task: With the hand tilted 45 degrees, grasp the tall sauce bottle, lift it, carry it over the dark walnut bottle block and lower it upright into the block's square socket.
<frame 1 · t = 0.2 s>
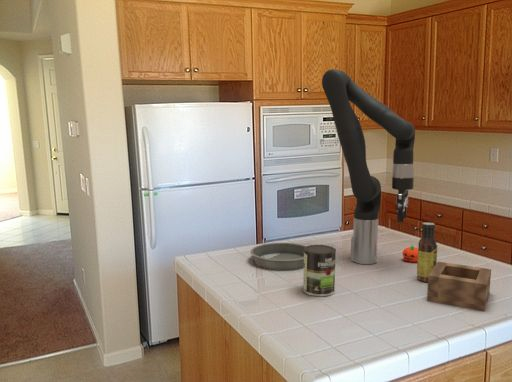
hand: (401, 219, 174), 18 cm above the counter, tool pointing down, fingers open, 8 cm apart
cake pan: (281, 262, 185), on the counter
bottle block: (458, 296, 148), on the counter
pumpkin: (412, 261, 185), on the counter
sauce bottle: (425, 280, 163), on the counter
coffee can: (318, 291, 153), on the counter
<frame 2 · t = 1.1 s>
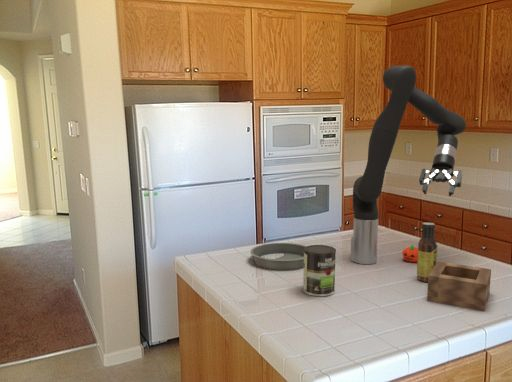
hand: (437, 193, 169), 28 cm above the counter, tool tilted 45°, fingers open, 8 cm apart
nothing on the counter moved.
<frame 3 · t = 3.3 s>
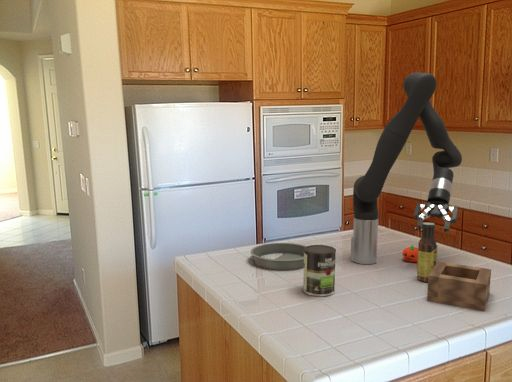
hand: (432, 229, 166), 16 cm above the counter, tool tilted 45°, fingers open, 8 cm apart
nothing on the counter moved.
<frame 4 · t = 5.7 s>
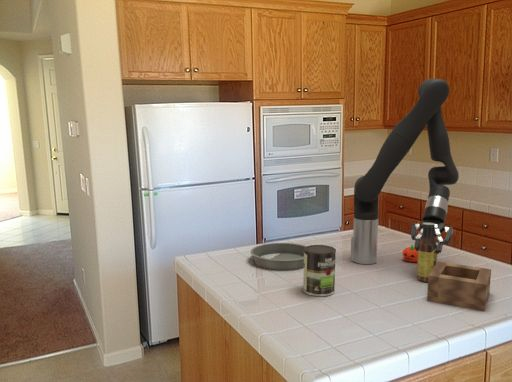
hand: (427, 251, 161), 10 cm above the counter, tool tilted 45°, fingers closed on sauce bottle, 6 cm apart
sauce bottle: (425, 280, 163), on the counter, touching gripper
everything else where it was.
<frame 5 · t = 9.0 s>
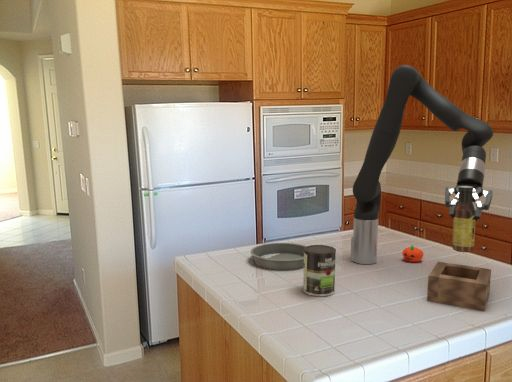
hand: (464, 217, 143), 25 cm above the counter, tool tilted 45°, fingers closed on sauce bottle, 6 cm apart
sauce bottle: (462, 250, 146), point 15 cm above the counter, touching gripper
everything else where it was.
when the fingers open (13 cm above the counter, at t = 12.6 s): sauce bottle stays where it is, resting on bottle block.
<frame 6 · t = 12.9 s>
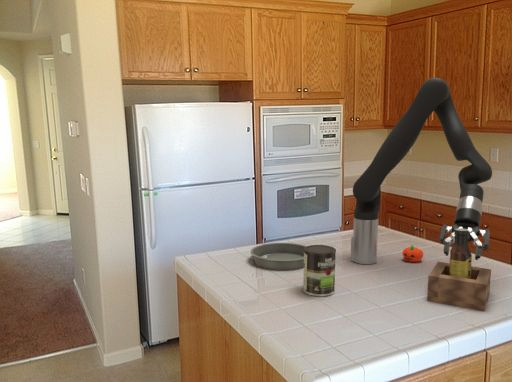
hand: (461, 256, 145), 13 cm above the counter, tool tilted 45°, fingers open, 8 cm apart
sauce bottle: (458, 292, 148), point 1 cm above the counter, touching bottle block
everything else where it was.
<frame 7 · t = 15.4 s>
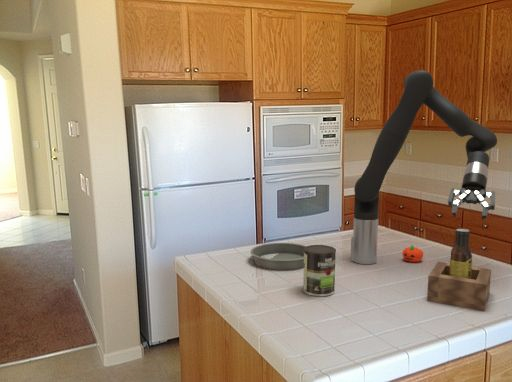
hand: (468, 217, 155), 23 cm above the counter, tool tilted 45°, fingers open, 8 cm apart
nothing on the counter moved.
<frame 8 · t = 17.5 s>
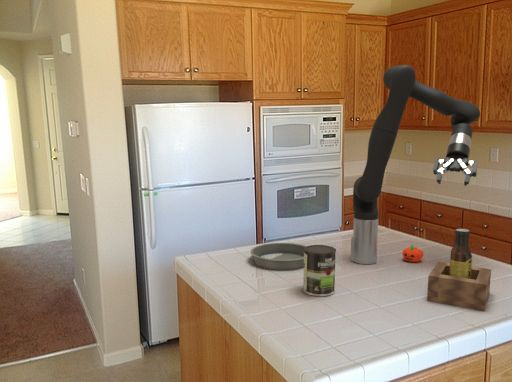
hand: (452, 183, 164), 33 cm above the counter, tool tilted 45°, fingers open, 8 cm apart
nothing on the counter moved.
at the end: sauce bottle 0.2 cm off-centre on the bottle block, point 1.3 cm above the bottle block's base; sauce bottle tilted 0°; the gripper is holding nothing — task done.
